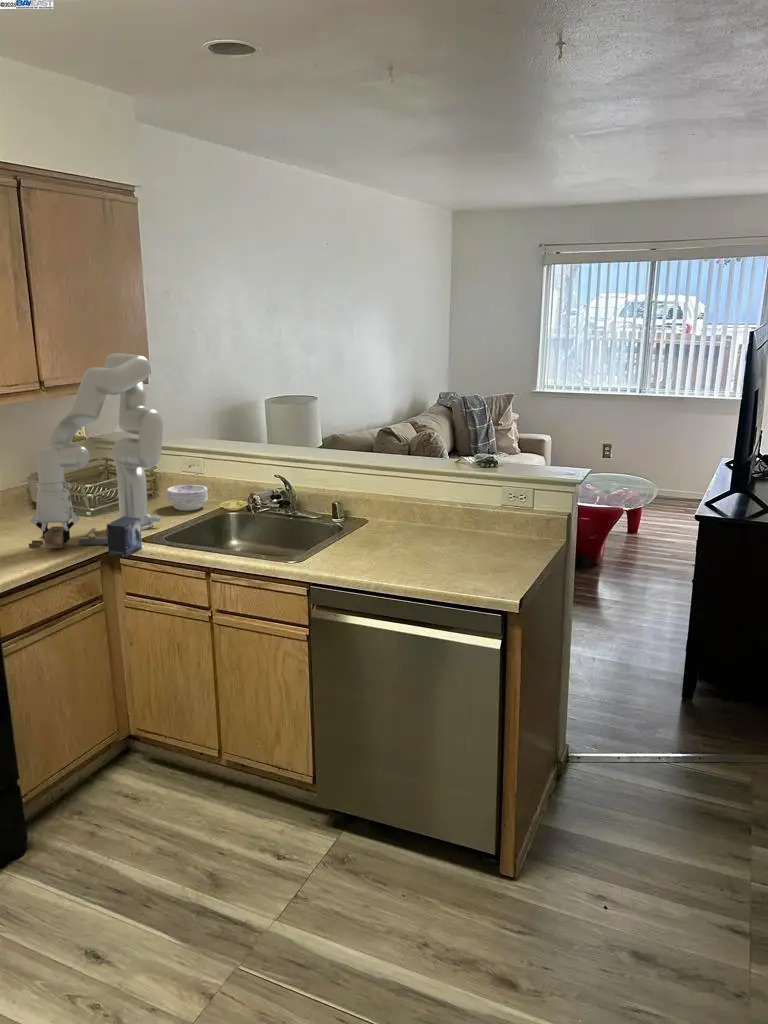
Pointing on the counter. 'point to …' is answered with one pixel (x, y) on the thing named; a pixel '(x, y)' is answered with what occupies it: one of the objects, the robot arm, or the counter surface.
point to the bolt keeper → (36, 543)
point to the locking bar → (92, 540)
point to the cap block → (54, 537)
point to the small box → (124, 537)
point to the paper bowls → (187, 496)
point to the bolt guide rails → (91, 531)
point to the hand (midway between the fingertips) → (57, 541)
